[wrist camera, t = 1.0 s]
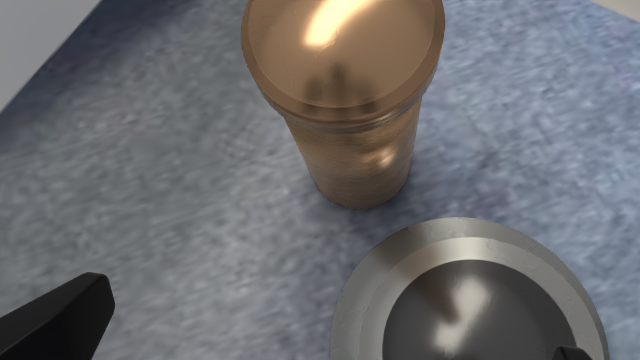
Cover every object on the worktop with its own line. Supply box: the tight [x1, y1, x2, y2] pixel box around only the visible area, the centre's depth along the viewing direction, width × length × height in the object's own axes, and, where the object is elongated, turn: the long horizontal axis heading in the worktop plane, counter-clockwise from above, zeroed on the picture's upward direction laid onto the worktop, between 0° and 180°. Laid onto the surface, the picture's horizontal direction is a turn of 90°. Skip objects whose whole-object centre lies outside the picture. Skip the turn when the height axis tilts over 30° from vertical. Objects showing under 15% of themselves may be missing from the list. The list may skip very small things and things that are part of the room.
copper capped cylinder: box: [241, 0, 445, 209], centre depth 19 cm, size 6×6×12 cm
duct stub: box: [330, 217, 610, 360], centre depth 20 cm, size 12×12×4 cm
